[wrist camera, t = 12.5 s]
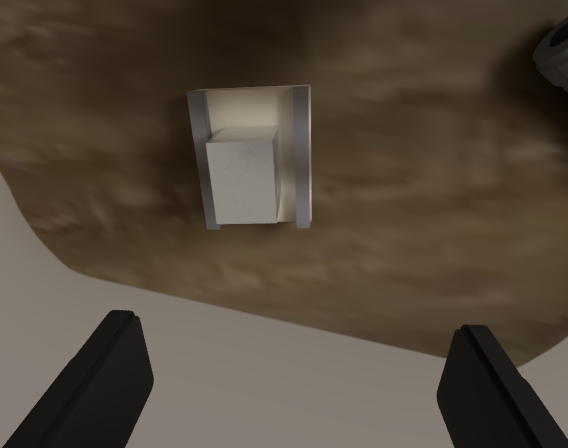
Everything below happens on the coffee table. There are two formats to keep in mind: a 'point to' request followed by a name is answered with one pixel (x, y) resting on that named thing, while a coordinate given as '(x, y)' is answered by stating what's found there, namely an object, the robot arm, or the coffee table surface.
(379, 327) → the coffee table surface
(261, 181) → the tall white block
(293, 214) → the cradle
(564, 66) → the flashlight
